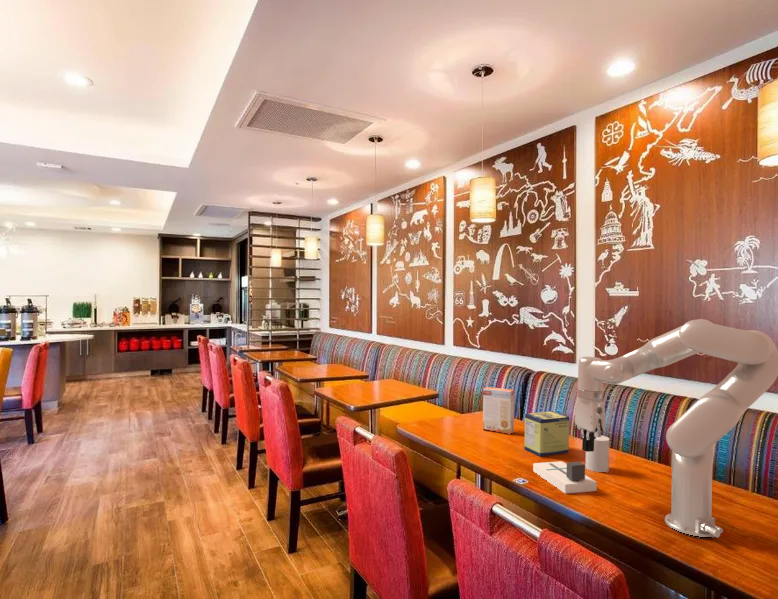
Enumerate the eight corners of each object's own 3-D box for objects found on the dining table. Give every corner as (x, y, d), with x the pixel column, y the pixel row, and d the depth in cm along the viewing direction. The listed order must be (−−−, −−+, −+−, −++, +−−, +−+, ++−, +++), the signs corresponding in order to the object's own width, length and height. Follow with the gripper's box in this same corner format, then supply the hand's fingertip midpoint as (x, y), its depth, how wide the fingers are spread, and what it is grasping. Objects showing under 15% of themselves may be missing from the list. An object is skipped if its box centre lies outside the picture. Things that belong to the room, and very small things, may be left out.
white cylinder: (611, 473, 168) (611, 441, 168) (588, 471, 170) (588, 439, 170) (605, 465, 176) (606, 435, 176) (583, 464, 178) (583, 433, 178)
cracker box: (514, 432, 220) (514, 389, 220) (510, 435, 215) (511, 391, 215) (486, 427, 228) (487, 386, 228) (482, 430, 223) (483, 388, 223)
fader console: (596, 490, 152) (596, 481, 152) (565, 493, 150) (565, 484, 150) (561, 469, 172) (561, 460, 172) (533, 471, 169) (533, 462, 169)
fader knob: (584, 479, 153) (585, 464, 153) (571, 480, 152) (572, 465, 152) (579, 476, 156) (579, 461, 156) (566, 477, 155) (566, 462, 155)
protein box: (569, 453, 191) (570, 416, 191) (540, 457, 185) (540, 419, 185) (552, 445, 201) (552, 410, 201) (523, 449, 195) (524, 413, 195)
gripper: (615, 399, 141) (614, 458, 141) (585, 389, 156) (583, 442, 156) (595, 400, 139) (593, 459, 140) (565, 390, 154) (564, 443, 154)
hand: (588, 450), depth 148 cm, fingers closed
